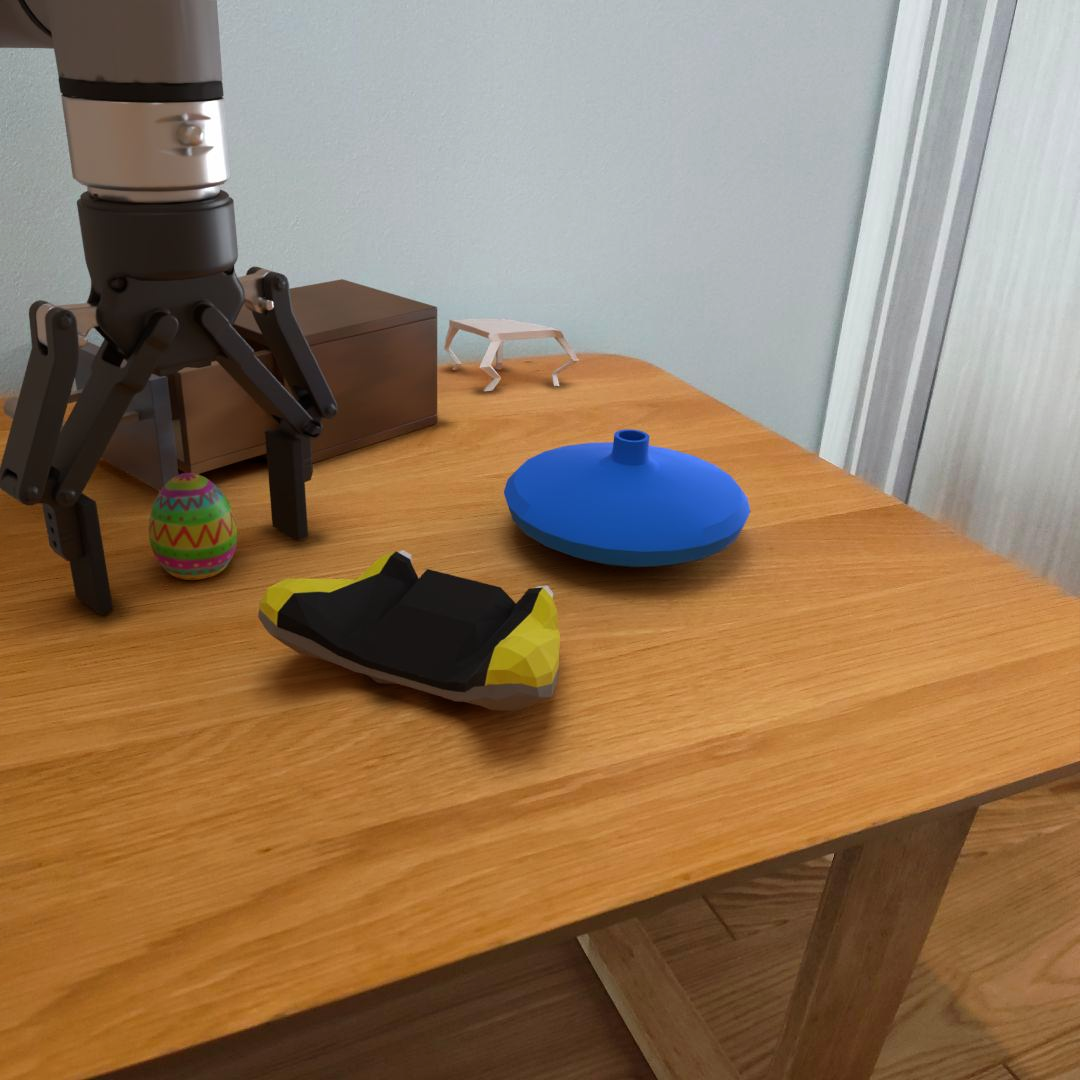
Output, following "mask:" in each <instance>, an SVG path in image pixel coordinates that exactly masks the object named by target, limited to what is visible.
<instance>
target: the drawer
mask: <svg viewBox="0 0 1080 1080" xmlns="http://www.w3.org/2000/svg"><path fill="white" fill-rule="evenodd" d="M242 338H243V339H244V340H245V341H246V342H247V343H248V344H249V346H250V347H251V348H252V349H253V350H254V355H255V356H256V357H257V358H258V359H259V360H260V361H261V363H262V364H263V365H264V366H265V367H266V368H267V369H268V370H269V371H270V372H271V374H272V375H273V376H274V377H275V378H276V379H277V365H276V360H275V358H274V356H273V354H272V352H271V350H270V348H269V347H268V346H265V345H262V344H260V343H257V342H254V341H252V340H249V339H246V338H244V337H242ZM100 347H101V346H99V345H96V344H94V343H92V342H89V341H88V342H87V345H85V346H84V347H82V348H80V349H79V358H78V366H77V371H76V375H75V379H74V382H75V386H76V387H75V388H76V389H75V390H71V394H70V397H69V401H68V404H72V403H76V402H77V400H78V398H79V397H80V395H81V393H82V391H83V389H84V387H85V385H86V384H87V382H88V380H89V378H90V376H91V373H92V371H91V364H92V361H93V360H94V358H95V356H96V354H97V352H98V350H99V348H100ZM126 364H127V361H126V360H125V359H124V360H123V362H122V364H121V366H120V368H123V367H125V365H126ZM277 380H278V379H277ZM18 398H19V395H14V396H10V397H8V399H6V400H5V402H4V404H3V412H4V414H5V415H6V417H8V418H10V420H11V419H12V420H13V417H14V414H15V410H16V406H17V402H18ZM65 423H66V421H65V420H63V423H62V427H61V430H62V428H63V426H64V425H65ZM274 428H276V429H278V430H280V426H279V425H278V424H277V423H276V422H275V421H274V420H273V419H272V418H271V417H270V416H269V415H268V414H267V413H266V412H265V411H264V410H263V409H262V408H261V407H260V406H259V405H258V404H257V403H256V402H255V400H254V399H253V398H252V397H251V396H250V395H249V394H248V393H247V392H246V391H245V390H244V389H243V388H242V387H241V386H240V385H239V384H238V383H237V382H236V381H235V380H234V379H233V378H232V377H231V375H230V374H229V373H228V372H227V371H226V370H225V369H224V368H223V367H222V366H221V365H220V364H219V363H218V362H217V361H216V360H215V359H213V360H212V361H211V366H206V367H202V368H190V367H186V368H183V369H182V370H180V371H178V372H176V373H174V374H171V375H166V376H162V377H159V376H157V375H155V374H152V375H151V376H150V378H149V380H148V382H147V384H146V386H145V387H144V389H143V390H142V391H141V392H139V393H137V394H135V395H134V397H133V398H132V400H131V402H130V404H129V406H128V408H127V410H126V411H125V413H124V415H123V417H122V419H121V421H120V423H119V425H118V426H117V428H116V430H115V432H114V434H113V436H112V438H111V440H110V441H109V443H108V445H107V447H106V449H105V451H104V453H103V455H102V456H101V458H100V459H102V460H104V461H106V462H108V463H109V464H111V465H112V466H115V467H116V468H118V469H120V470H122V471H124V472H125V473H127V474H129V475H131V476H132V477H134V478H136V479H138V480H140V481H142V482H143V483H145V484H146V485H148V486H150V487H152V488H153V489H155V490H157V491H159V492H160V491H161V489H162V488H163V487H164V486H165V484H166V483H167V482H168V481H169V480H171V479H172V478H174V477H175V476H177V475H179V474H180V473H179V471H182V473H195V474H199V475H201V474H203V473H206V472H210V471H213V470H217V469H219V468H223V467H225V466H226V467H227V466H229V465H233V464H236V463H239V462H242V461H246V460H249V459H252V458H256V457H260V456H259V455H263V454H266V453H267V452H266V440H265V431H267V430H271V429H274ZM280 431H281V430H280ZM60 432H61V431H60Z"/></svg>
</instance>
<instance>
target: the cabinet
mask: <svg viewBox="0 0 1080 1080" xmlns="http://www.w3.org/2000/svg"><path fill="white" fill-rule="evenodd" d="M289 289H290V297H291V304H292V311H293V313H294V315H295V318H296V320H297V322H298V324H299V326H300V328H301V330H302V332H303V334H304V336H305V338H306V340H307V342H308V345H309V347H310V349H311V351H312V353H313V355H314V357H315V359H316V361H317V363H318V365H319V367H320V369H321V372H322V374H323V376H324V378H325V380H326V382H327V384H328V386H329V388H330V390H331V392H332V394H333V397H334V399H335V401H336V403H337V406H338V411H337V413H336V415H335V416H334V417H333V418H331V419H326V418H324V419H323V420H321V421H320V422H321V424H322V426H323V430H322V433H321V435H320V436H319V437H318V438H317V439H311V448H312V464H314V463H318V462H321V461H324V460H326V459H330V458H333V457H336V456H339V455H342V454H346V453H349V452H352V451H354V450H355V451H356V450H359V449H361V448H364V447H367V446H372V445H374V444H378V443H380V442H383V441H386V440H389V439H392V438H396V437H398V436H401V435H404V434H408V433H411V432H415V431H417V430H421V429H423V428H428V427H430V426H433V425H436V424H438V306H435V305H431V304H428V303H425V302H422V301H418V300H415V299H412V298H408V297H404V296H401V295H399V294H394V293H392V292H387V291H384V290H381V289H378V288H373V287H370V286H367V285H364V284H360V283H357V282H353V281H349V280H346V279H343V278H341V279H335V280H330V281H325V282H318V283H314V284H307V285H303V286H302V285H301V286H296V287H289ZM233 328H234V329H235V330H236V331H237V332H238V333H239V335H240V336H241V337H244V338H246V339H249V340H252V341H254V342H257V343H260V344H262V345H265V346H268V344H267V342H266V340H265V338H264V336H263V335H262V333H261V331H260V329H259V327H258V325H257V323H256V321H255V319H254V316H253V314H252V311H251V310H249V309H247V307H246V306H245V304H244V303H243V306H242V308H241V310H240V312H239V314H238V316H237V318H236V320H235V322H234V324H233ZM268 347H269V346H268ZM276 365H277V379H278V381H279V382H280V383H281V384H282V386H283V387H284V388H285V389H286V390H287V391H288V392H289V393H290V394H291V395H292V397H293V398H294V399H295V397H294V395H293V393H292V391H291V389H290V387H289V385H288V383H287V381H286V379H285V377H284V375H283V373H282V371H281V370H280V368H279V366H278V364H277V362H276ZM295 400H296V399H295ZM258 457H261V458H263V459H265V460H267V453H266V454H263V455H259V456H258Z"/></svg>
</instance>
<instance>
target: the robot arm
mask: <svg viewBox="0 0 1080 1080" xmlns="http://www.w3.org/2000/svg"><path fill="white" fill-rule="evenodd" d="M218 12H219V11H218V0H0V49H49V50H50V49H53V52H54V58H55V63H56V71H57V76H58V86H59V92H60V97H61V106H62V110H63V118H64V126H65V132H66V139H67V147H68V153H69V160H70V167H71V175H72V179H74V180H75V181H76V182H78V184H80V185H82V186H85V187H86V191H83V192H82V193H81V194H80V196H79V197H80V198H78V199H77V200H76V207H77V208H76V209H77V213H78V214H77V215H78V221H79V227H80V235H81V240H82V247H83V254H84V255H83V256H84V260H85V265H86V268H87V271H88V275H89V279H90V291H89V294H88V298H87V300H86V302H83V303H71V304H60V305H59V304H58V305H57V304H54V303H51V302H48V301H46V300H42V299H39V300H36V301H34V302H33V303H31V305H30V307H29V309H28V319H29V331H30V342H31V350H30V354H29V357H28V361H27V363H26V369H25V372H24V376H23V380H22V383H21V387H20V391H19V395H18V396H19V398H18V402H17V406H16V410H15V414H14V417H13V419H12V421H11V425H10V428H9V433H8V436H7V441H6V444H5V448H4V451H3V455H2V459H1V463H0V490H1V491H2V492H4V493H5V494H7V495H8V496H10V497H12V498H14V499H15V500H16V501H18V502H19V503H21V504H22V505H25V506H28V507H29V506H35V505H37V504H41V506H42V512H43V515H44V522H45V528H46V534H47V538H48V543H49V547H50V548H51V550H52V551H53V553H55V554H56V555H57V556H58V557H60V558H62V559H64V560H65V561H66V562H69V566H70V572H71V577H72V584H73V588H74V594H75V598H76V599H78V600H79V601H81V602H82V603H83V604H85V605H86V606H87V607H88V608H90V609H91V610H93V611H94V612H96V613H97V614H99V616H100V615H101V616H102V615H104V614H107V613H109V612H112V611H114V605H113V600H112V599H113V598H112V593H111V587H110V581H109V575H108V567H107V560H106V556H105V548H104V543H103V536H102V531H101V525H100V518H99V512H98V506H97V501H95V500H94V499H92V498H91V497H89V496H87V495H86V494H84V493H83V492H84V490H85V489H86V487H87V484H88V483H89V482H90V479H91V477H92V475H93V474H94V472H95V469H96V468H97V466H98V464H99V462H100V460H101V459H102V458H101V456H102V455H103V453H104V451H105V449H106V447H107V445H108V443H109V441H110V440H111V438H112V436H113V434H114V432H115V430H116V428H117V426H118V425H119V423H120V421H121V419H122V417H123V415H124V413H125V411H126V410H127V408H128V406H129V404H130V402H131V400H132V398H133V397H134V395H135V394H137V393H139V392H141V391H142V390H143V389H144V387H145V386H146V384H147V382H148V380H149V378H150V376H151V375H152V374H155V375H157V376H159V377H162V376H166V375H171V374H174V373H176V372H178V371H180V370H182V369H183V368H186V367H190V368H202V367H206V366H211V361H212V360H213V359H215V360H216V361H217V362H218V363H219V364H220V365H221V366H222V367H223V368H224V369H225V370H226V371H227V372H228V373H229V374H230V375H231V377H232V378H233V379H234V380H235V381H236V382H237V383H238V384H239V385H240V386H241V387H242V388H243V389H244V390H245V391H246V392H247V393H248V394H249V395H250V396H251V397H252V398H253V399H254V400H255V402H256V403H257V404H258V405H259V406H260V407H261V408H262V409H263V410H264V411H265V412H266V413H267V414H268V415H269V416H270V417H271V418H272V419H273V420H274V421H275V422H276V423H277V424H278V425H279V426H280V430H281V431H280V430H278V429H276V428H274V429H271V430H267V431H265V440H266V452H267V459H266V462H267V463H266V464H267V472H268V473H267V475H268V476H267V477H268V486H269V499H270V500H269V501H270V511H271V512H270V513H271V522H272V524H271V525H272V528H274V529H276V530H278V531H279V532H282V533H284V534H286V535H288V536H290V537H291V538H293V539H295V540H297V541H301V540H303V539H306V538H308V537H309V529H308V528H309V527H308V513H307V497H306V482H309V481H312V477H313V474H314V469H313V468H314V467H313V466H314V465H313V464H314V463H312V448H311V439H317V438H318V437H319V436H320V435H321V433H322V430H323V426H322V424H321V422H320V421H321V420H323V419H324V418H326V419H331V418H333V417H334V416H335V415H336V413H337V411H338V406H337V403H336V401H335V399H334V397H333V394H332V392H331V390H330V388H329V386H328V384H327V382H326V380H325V378H324V376H323V374H322V372H321V369H320V367H319V365H318V363H317V361H316V359H315V357H314V355H313V353H312V351H311V349H310V347H309V345H308V342H307V340H306V338H305V336H304V334H303V332H302V330H301V328H300V326H299V324H298V322H297V320H296V318H295V315H294V313H293V311H292V304H291V297H290V283H289V282H290V281H289V279H288V277H287V276H286V275H285V274H284V273H280V272H276V271H273V270H270V269H267V268H263V267H260V266H251V267H250V268H248V270H247V271H246V274H245V275H243V276H237V272H236V270H235V265H236V263H237V261H238V259H239V248H238V247H239V246H238V237H237V225H236V213H235V201H234V199H233V198H232V197H230V194H229V193H228V192H227V191H225V190H222V189H220V186H221V185H224V184H225V183H226V182H228V180H229V179H230V178H231V166H230V165H231V164H230V155H229V141H228V130H227V119H226V107H225V105H226V104H225V97H224V85H223V69H222V54H221V41H220V39H221V38H220V28H219V27H220V26H219V13H218ZM243 303H244V304H245V306H246V307H247V309H249V310H251V311H252V314H253V316H254V319H255V321H256V323H257V325H258V327H259V329H260V331H261V333H262V335H263V336H264V338H265V340H266V342H267V344H268V346H269V348H270V350H271V352H272V354H273V356H274V358H275V360H276V362H277V364H278V366H279V368H280V370H281V371H282V373H283V375H284V377H285V379H286V381H287V383H288V385H289V387H290V389H291V391H292V393H293V395H294V397H295V399H296V400H295V399H294V398H293V397H292V395H291V394H290V393H289V392H288V391H287V390H286V389H285V388H284V387H283V386H282V384H281V383H280V382H279V381H278V380H277V379H276V378H275V377H274V376H273V375H272V374H271V372H270V371H269V370H268V369H267V368H266V367H265V366H264V365H263V364H262V363H261V361H260V360H259V359H258V358H257V357H256V356H255V355H254V350H253V349H252V348H251V347H250V346H249V344H248V343H247V342H246V341H245V340H244V339H243V338H242V337H241V336H240V335H239V333H238V332H237V331H236V330H235V329H234V328H233V324H234V322H235V320H236V318H237V316H238V314H239V312H240V310H241V308H242V306H243ZM92 329H94V330H96V332H97V333H98V334H99V335H100V336H101V337H102V338H103V341H102V343H101V345H100V346H99V347H100V348H99V350H98V352H97V354H96V356H95V358H94V360H93V361H92V364H91V371H92V373H91V376H90V378H89V380H88V382H87V384H86V385H85V387H84V389H83V391H82V393H81V395H80V397H79V398H78V400H77V402H75V404H74V406H73V408H72V410H71V412H70V414H69V415H68V417H67V419H66V421H65V420H64V419H65V415H66V412H67V408H68V404H69V403H68V401H69V397H70V394H71V392H72V391H73V386H74V382H75V375H76V371H77V366H78V358H79V349H80V348H82V347H84V346H85V345H87V342H89V341H88V335H89V333H90V331H91V330H92ZM124 359H125V360H126V361H127V364H126V365H125V367H123V368H120V366H121V364H122V362H123V360H124ZM63 421H65V422H66V423H65V425H64V426H63V428H62V430H61V427H62V423H63ZM60 431H61V432H60Z"/></svg>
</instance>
